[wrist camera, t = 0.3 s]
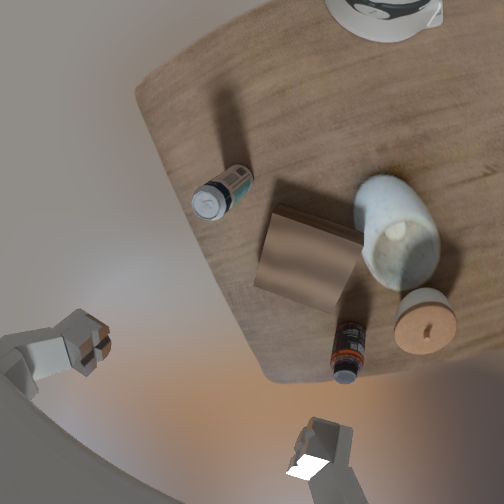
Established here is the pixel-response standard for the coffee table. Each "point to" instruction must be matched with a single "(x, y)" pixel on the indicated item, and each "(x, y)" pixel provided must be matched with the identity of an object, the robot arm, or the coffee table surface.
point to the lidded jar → (424, 321)
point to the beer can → (222, 192)
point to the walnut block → (307, 258)
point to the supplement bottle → (348, 352)
